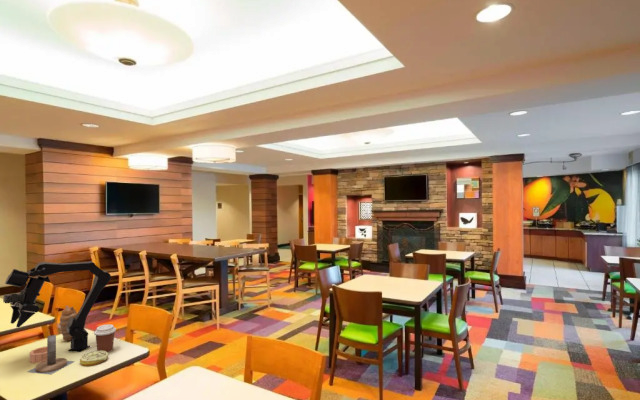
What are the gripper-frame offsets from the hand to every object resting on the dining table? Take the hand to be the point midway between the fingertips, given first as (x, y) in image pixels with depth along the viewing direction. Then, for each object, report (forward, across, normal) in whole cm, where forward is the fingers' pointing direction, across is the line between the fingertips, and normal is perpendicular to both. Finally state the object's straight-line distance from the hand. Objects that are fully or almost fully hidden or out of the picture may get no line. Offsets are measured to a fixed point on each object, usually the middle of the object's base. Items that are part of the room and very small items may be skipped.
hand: (14, 325), depth 154 cm
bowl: (+13, -1, +16) cm, 21 cm away
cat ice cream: (+6, -16, +30) cm, 34 cm away
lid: (+13, +12, +17) cm, 24 cm away
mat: (+13, +12, +17) cm, 24 cm away
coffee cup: (+5, +13, +36) cm, 39 cm away
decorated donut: (+9, +20, +30) cm, 37 cm away
